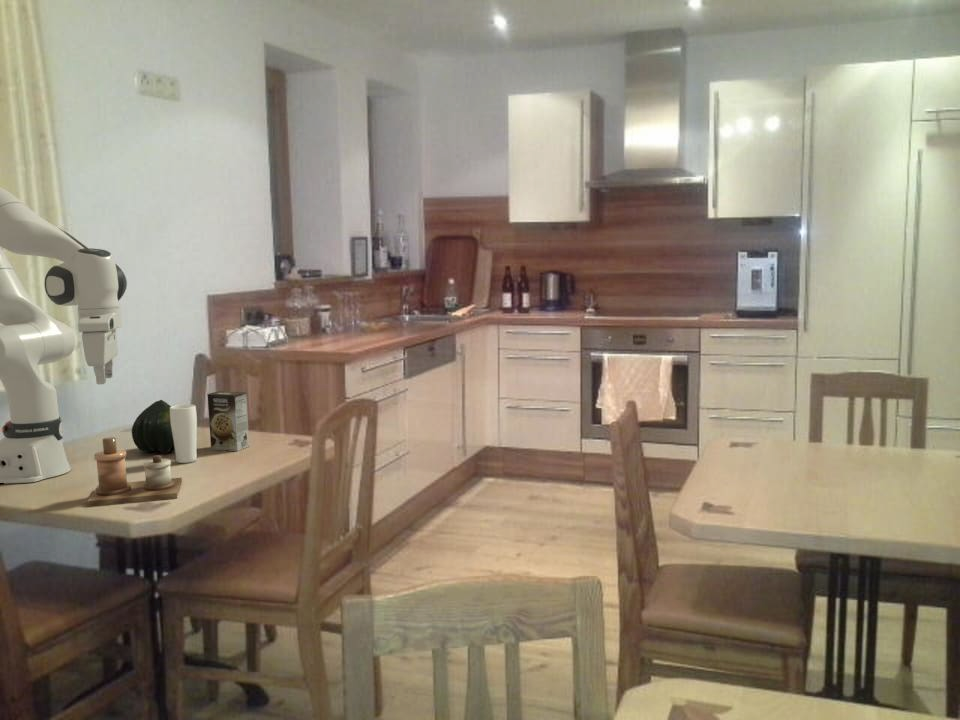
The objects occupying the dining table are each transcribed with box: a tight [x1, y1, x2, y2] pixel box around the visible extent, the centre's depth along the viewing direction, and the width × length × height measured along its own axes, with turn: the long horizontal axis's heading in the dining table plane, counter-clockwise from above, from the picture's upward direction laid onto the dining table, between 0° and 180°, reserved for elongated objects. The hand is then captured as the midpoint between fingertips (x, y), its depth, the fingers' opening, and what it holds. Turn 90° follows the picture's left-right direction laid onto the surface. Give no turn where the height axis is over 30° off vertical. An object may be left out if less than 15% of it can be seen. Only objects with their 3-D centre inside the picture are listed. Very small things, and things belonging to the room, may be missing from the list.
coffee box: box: [207, 390, 250, 452], centre depth 245 cm, size 9×6×16 cm
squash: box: [131, 399, 175, 455], centre depth 245 cm, size 14×15×15 cm
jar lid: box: [93, 436, 127, 462], centre depth 199 cm, size 7×7×4 cm
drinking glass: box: [170, 403, 198, 464], centre depth 231 cm, size 7×7×15 cm
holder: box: [86, 454, 183, 507], centre depth 201 cm, size 19×14×9 cm
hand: (105, 380), depth 197 cm, fingers open, 8 cm apart
